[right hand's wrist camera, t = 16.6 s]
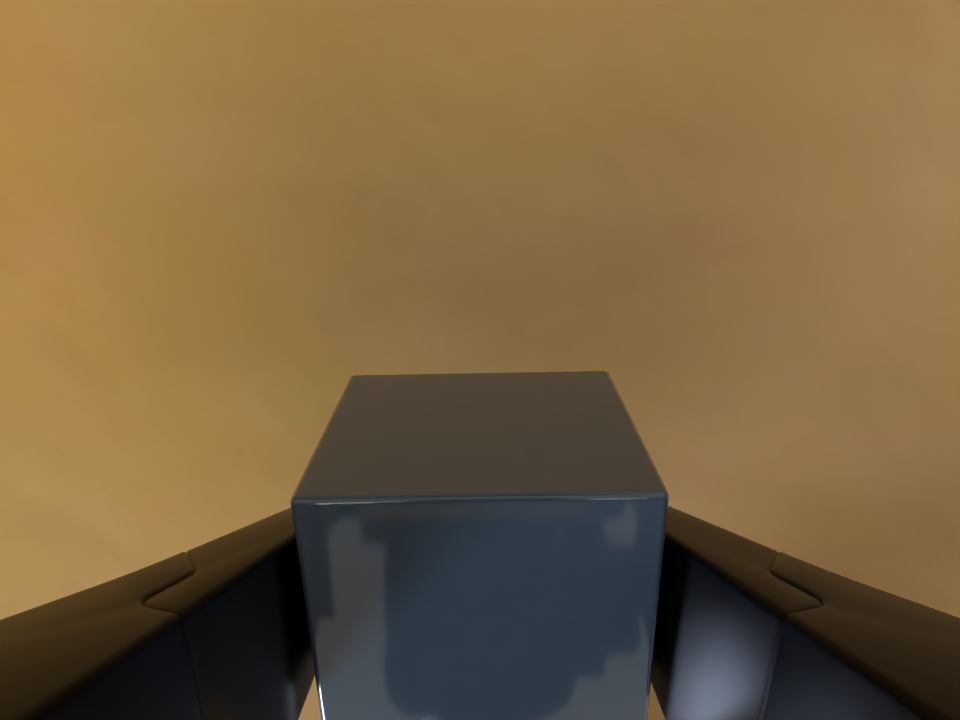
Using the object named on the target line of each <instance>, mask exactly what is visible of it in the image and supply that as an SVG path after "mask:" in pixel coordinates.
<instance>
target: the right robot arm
mask: <svg viewBox="0 0 960 720" xmlns="http://www.w3.org/2000/svg"><path fill="white" fill-rule="evenodd" d="M314 676H315V672H314V665H313V658H312V651H311V644H310V636H309V629H308V622H307V615H306V608H305V601H304V594H303V587H302V580H301V573H300V566H299V559H298V552H297V545H296V538H295V531H294V524H293V517H292V510H291V508H289V509H286V510H284V511H282V512H279V513H277V514H275V515H272V516H270V517H267V518H265V519H263V520H260V521H258V522H256V523H253V524H251V525H248V526H246V527H244V528H241V529H239V530H236V531H234V532H232V533H229V534H227V535H225V536H222V537H220V538H217V539H215V540H213V541H210V542H208V543H206V544H203V545H201V546H198V547H196V548H194V549H191V550H189V551H187V553H185V552H182V553H180V554H177V555H175V556H173V557H170V558H168V559H165V560H163V561H160V562H158V563H155V564H153V565H150V566H148V567H145V568H143V569H140V570H138V571H135V572H133V573H130V574H127V575H124V576H122V577H119V578H116V579H114V580H111V581H108V582H106V583H103V584H100V585H97V586H94V587H92V588H89V589H86V590H83V591H80V592H78V593H75V594H72V595H69V596H66V597H64V598H61V599H58V600H55V601H52V602H50V603H47V604H44V605H41V606H38V607H36V608H33V609H30V610H27V611H24V612H22V613H19V614H16V615H13V616H10V617H8V618H5V619H2V620H0V720H298V718H299V716H300V713H301V710H302V708H303V705H304V703H305V700H306V697H307V695H308V692H309V689H310V687H311V684H312V681H313V679H314ZM651 683H652V685H653V688H654V690H655V693H656V696H657V698H658V701H659V704H660V706H661V709H662V711H663V714H664V717H665V719H666V720H960V618H958V617H955V616H952V615H950V614H947V613H944V612H941V611H938V610H935V609H933V608H930V607H927V606H924V605H921V604H918V603H916V602H913V601H910V600H907V599H904V598H902V597H899V596H896V595H893V594H890V593H887V592H885V591H882V590H879V589H876V588H873V587H870V586H868V585H865V584H862V583H859V582H857V581H854V580H851V579H848V578H846V577H843V576H840V575H838V574H835V573H832V572H829V571H827V570H824V569H822V568H819V567H817V566H814V565H812V564H809V563H807V562H804V561H802V560H799V559H797V558H794V557H792V556H789V555H787V554H785V553H782V552H779V553H778V552H777V551H775V550H773V549H770V548H768V547H766V546H763V545H761V544H758V543H756V542H754V541H751V540H749V539H746V538H744V537H742V536H739V535H737V534H734V533H732V532H730V531H727V530H725V529H722V528H720V527H718V526H715V525H713V524H710V523H708V522H706V521H703V520H701V519H698V518H696V517H694V516H691V515H689V514H686V513H684V512H682V511H679V510H677V509H674V508H672V507H670V506H668V511H667V522H666V532H665V542H664V553H663V563H662V573H661V583H660V594H659V604H658V614H657V625H656V635H655V645H654V655H653V666H652V676H651Z"/></svg>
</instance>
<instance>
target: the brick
mask: <svg viewBox="0 0 960 720" xmlns="http://www.w3.org/2000/svg"><path fill="white" fill-rule="evenodd" d="M668 501H669V495H668V492H667V490H666V488H665V486H664V484H663V482H662V480H661V478H660V476H659V474H658V472H657V470H656V468H655V466H654V464H653V462H652V460H651V458H650V456H649V453H648V451H647V449H646V447H645V445H644V443H643V441H642V439H641V437H640V435H639V433H638V431H637V429H636V427H635V425H634V423H633V421H632V419H631V417H630V415H629V413H628V411H627V409H626V407H625V405H624V403H623V401H622V399H621V397H620V395H619V393H618V391H617V389H616V387H615V385H614V383H613V381H612V379H611V377H610V375H609V373H608V372H605V371H591V372H534V373H477V374H420V375H363V376H353V377H351V378H350V380H349V382H348V384H347V386H346V388H345V390H344V392H343V394H342V396H341V398H340V401H339V403H338V405H337V407H336V409H335V411H334V413H333V415H332V417H331V419H330V421H329V423H328V425H327V427H326V429H325V431H324V433H323V435H322V437H321V439H320V441H319V443H318V445H317V447H316V449H315V451H314V453H313V455H312V457H311V460H310V462H309V464H308V466H307V468H306V470H305V472H304V474H303V476H302V478H301V480H300V482H299V484H298V486H297V488H296V490H295V492H294V494H293V496H292V499H291V502H290V503H291V510H292V517H293V524H294V531H295V538H296V545H297V552H298V559H299V566H300V573H301V580H302V587H303V594H304V601H305V608H306V615H307V622H308V629H309V636H310V644H311V651H312V658H313V665H314V672H315V679H316V686H317V693H318V700H319V707H320V714H321V720H647V717H648V707H649V697H650V686H651V676H652V666H653V655H654V645H655V635H656V625H657V614H658V604H659V594H660V583H661V573H662V563H663V553H664V542H665V532H666V522H667V511H668Z"/></svg>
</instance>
